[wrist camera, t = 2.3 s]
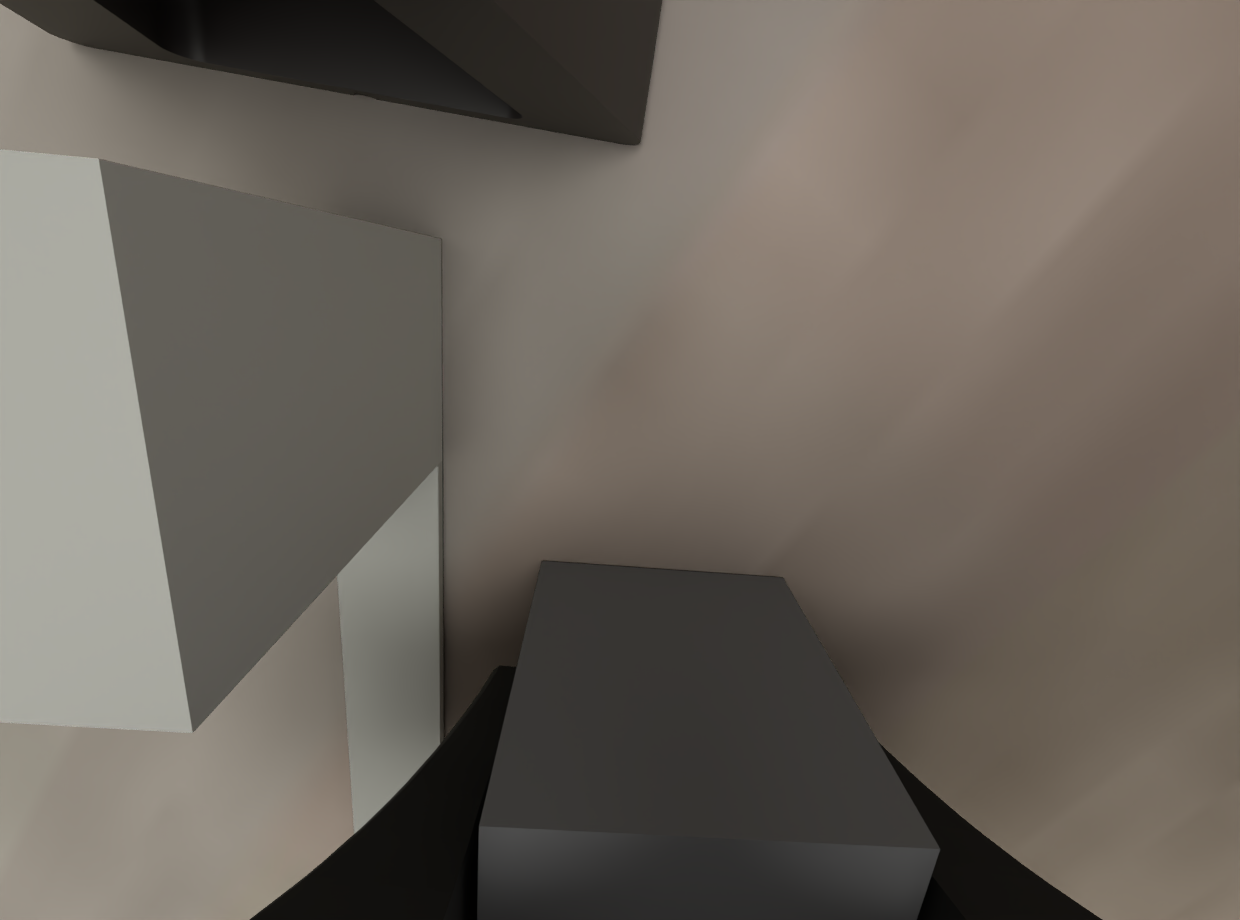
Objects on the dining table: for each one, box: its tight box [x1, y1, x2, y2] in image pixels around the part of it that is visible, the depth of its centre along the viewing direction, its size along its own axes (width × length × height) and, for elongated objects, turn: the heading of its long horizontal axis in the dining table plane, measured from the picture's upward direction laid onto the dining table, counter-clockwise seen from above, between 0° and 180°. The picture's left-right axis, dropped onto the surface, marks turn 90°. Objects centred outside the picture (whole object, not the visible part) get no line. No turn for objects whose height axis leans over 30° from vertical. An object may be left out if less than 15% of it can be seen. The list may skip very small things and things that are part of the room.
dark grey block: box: [477, 561, 940, 920], centre depth 10 cm, size 5×8×6 cm, turn 175°
